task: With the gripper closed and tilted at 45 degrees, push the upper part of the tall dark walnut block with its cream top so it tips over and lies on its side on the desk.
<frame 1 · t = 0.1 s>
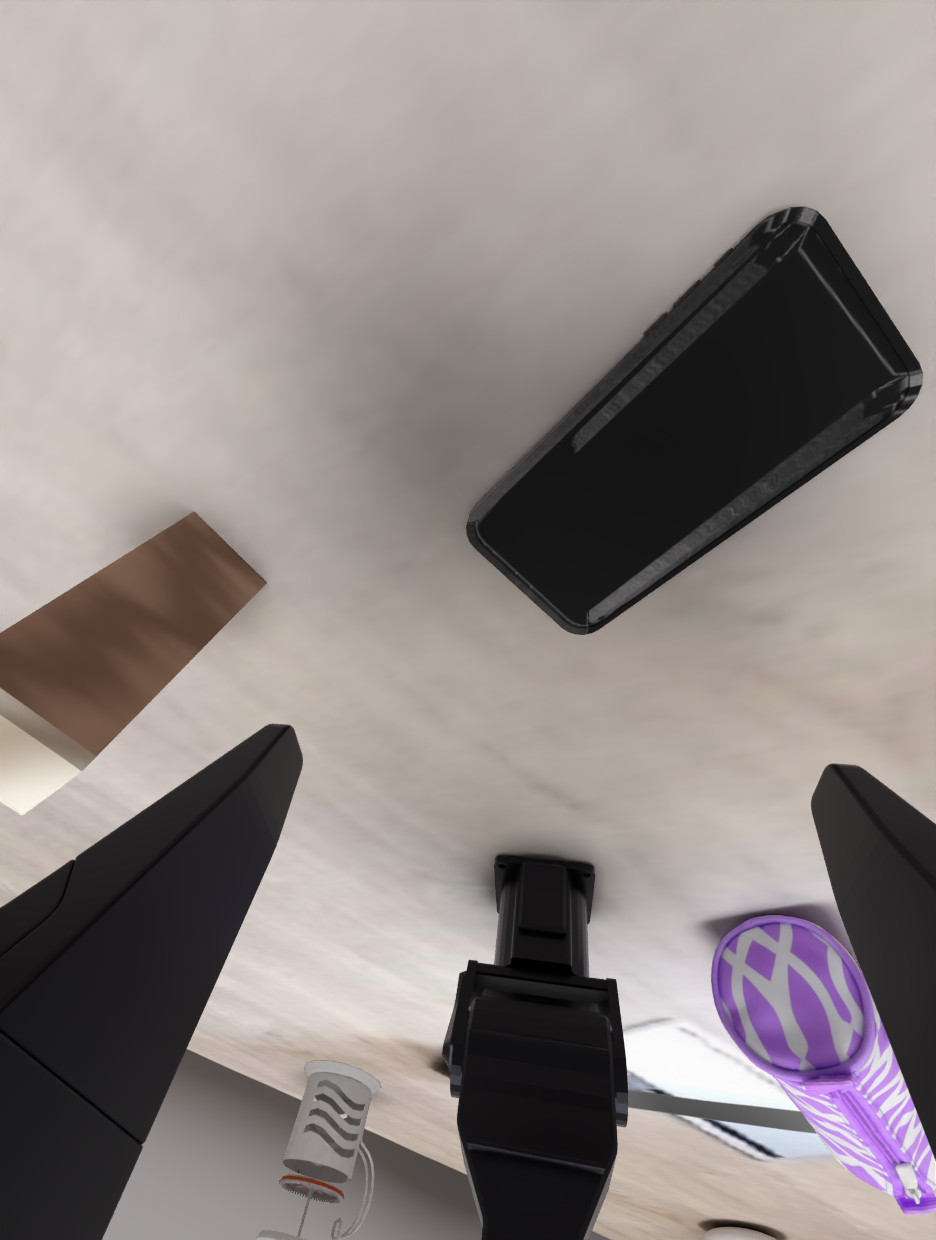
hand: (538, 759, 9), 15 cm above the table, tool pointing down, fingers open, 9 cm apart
pencil case: (805, 980, 38), on the table
phone: (657, 458, 21), on the table
flower in vase: (735, 1226, 74), on the table
french press: (349, 1077, 65), on the table
walnut block: (205, 571, 26), on the table
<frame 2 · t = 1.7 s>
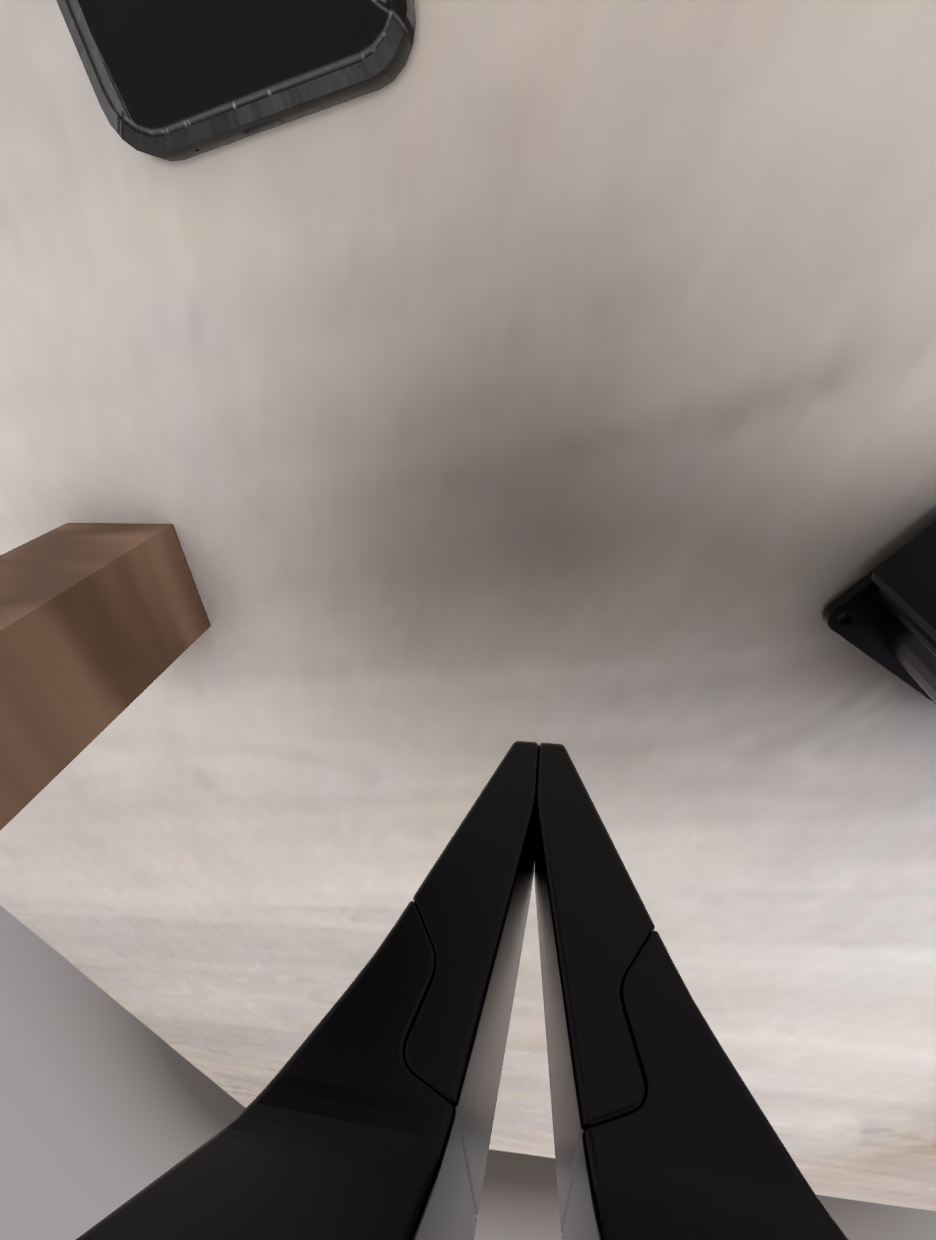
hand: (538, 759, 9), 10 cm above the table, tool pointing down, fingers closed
walnut block: (141, 576, 21), on the table
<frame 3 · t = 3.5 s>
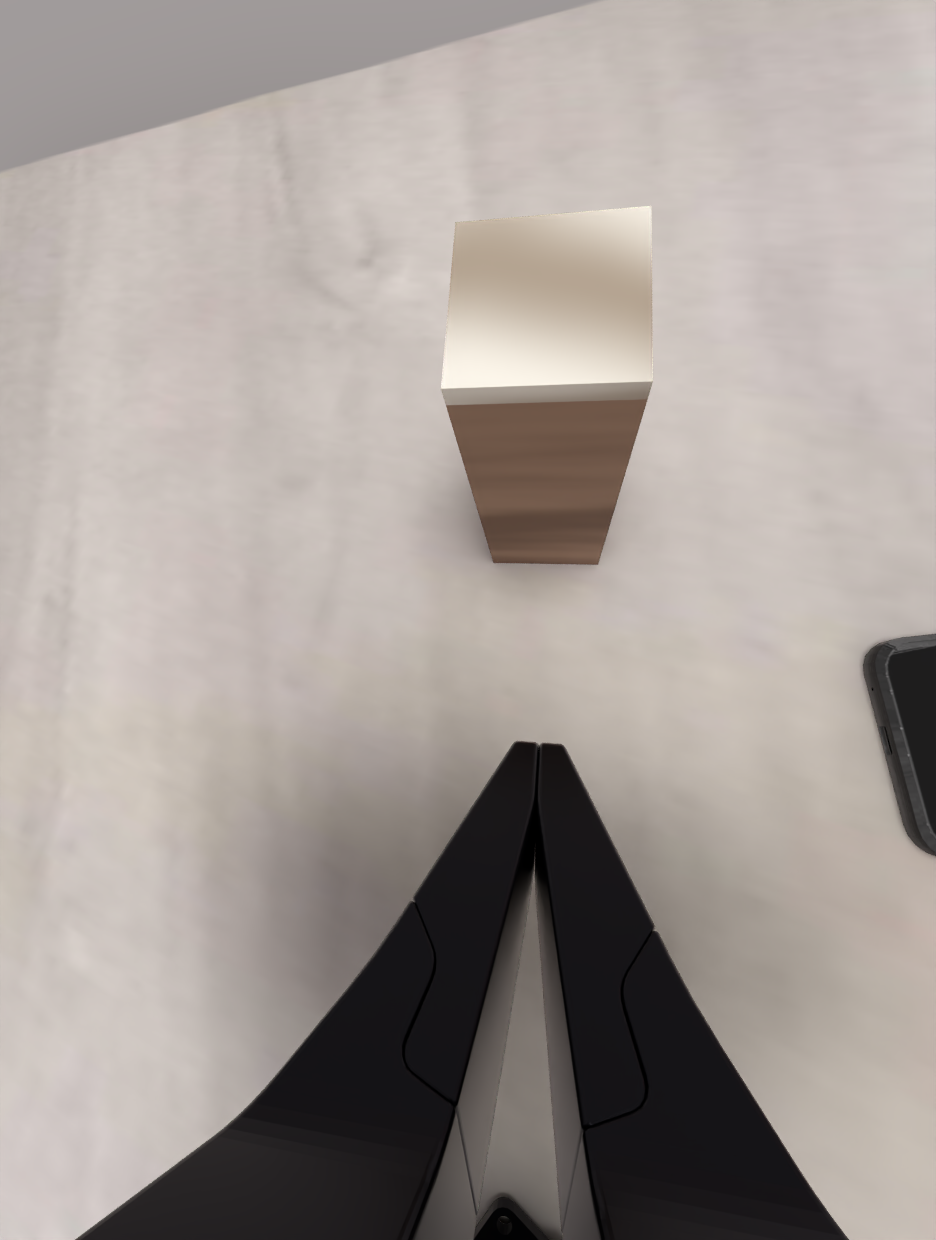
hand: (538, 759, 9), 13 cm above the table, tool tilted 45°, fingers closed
walnut block: (546, 515, 23), on the table
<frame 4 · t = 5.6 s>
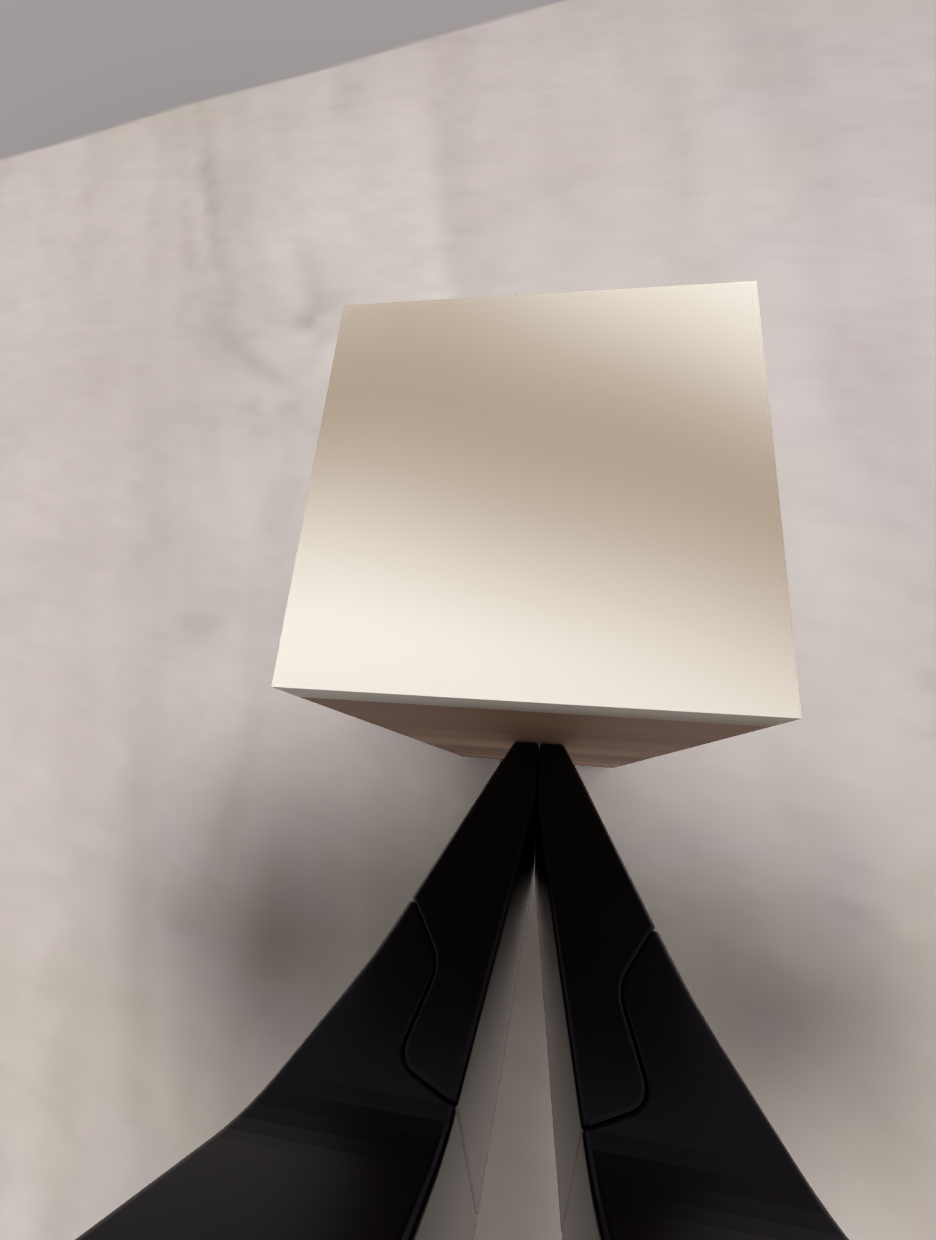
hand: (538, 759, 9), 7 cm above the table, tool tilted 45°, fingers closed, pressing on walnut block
walnut block: (539, 687, 16), on the table, touching gripper
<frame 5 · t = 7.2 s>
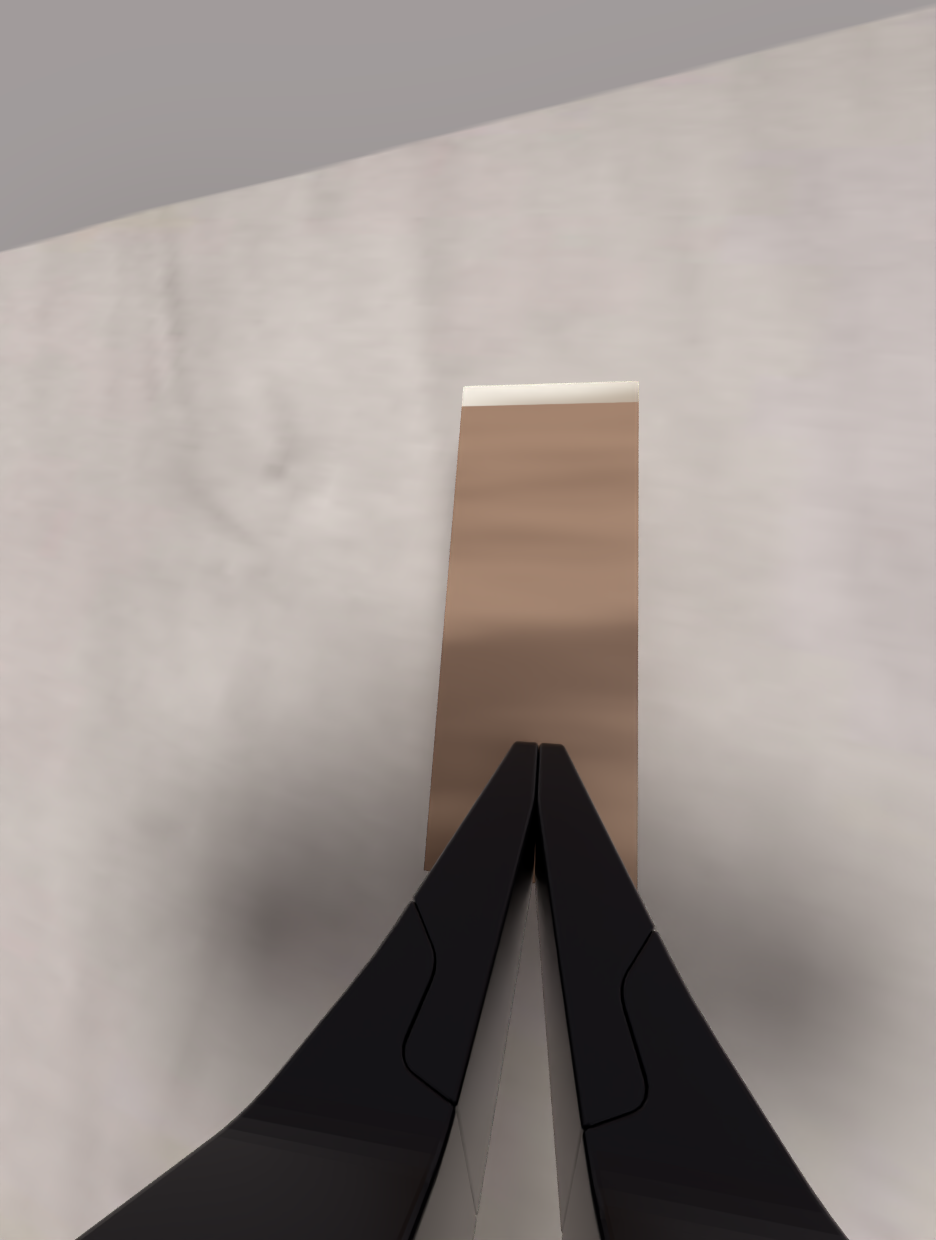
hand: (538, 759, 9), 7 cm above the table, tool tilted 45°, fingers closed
walnut block: (530, 858, 13), point 2 cm above the table, tilted 90°
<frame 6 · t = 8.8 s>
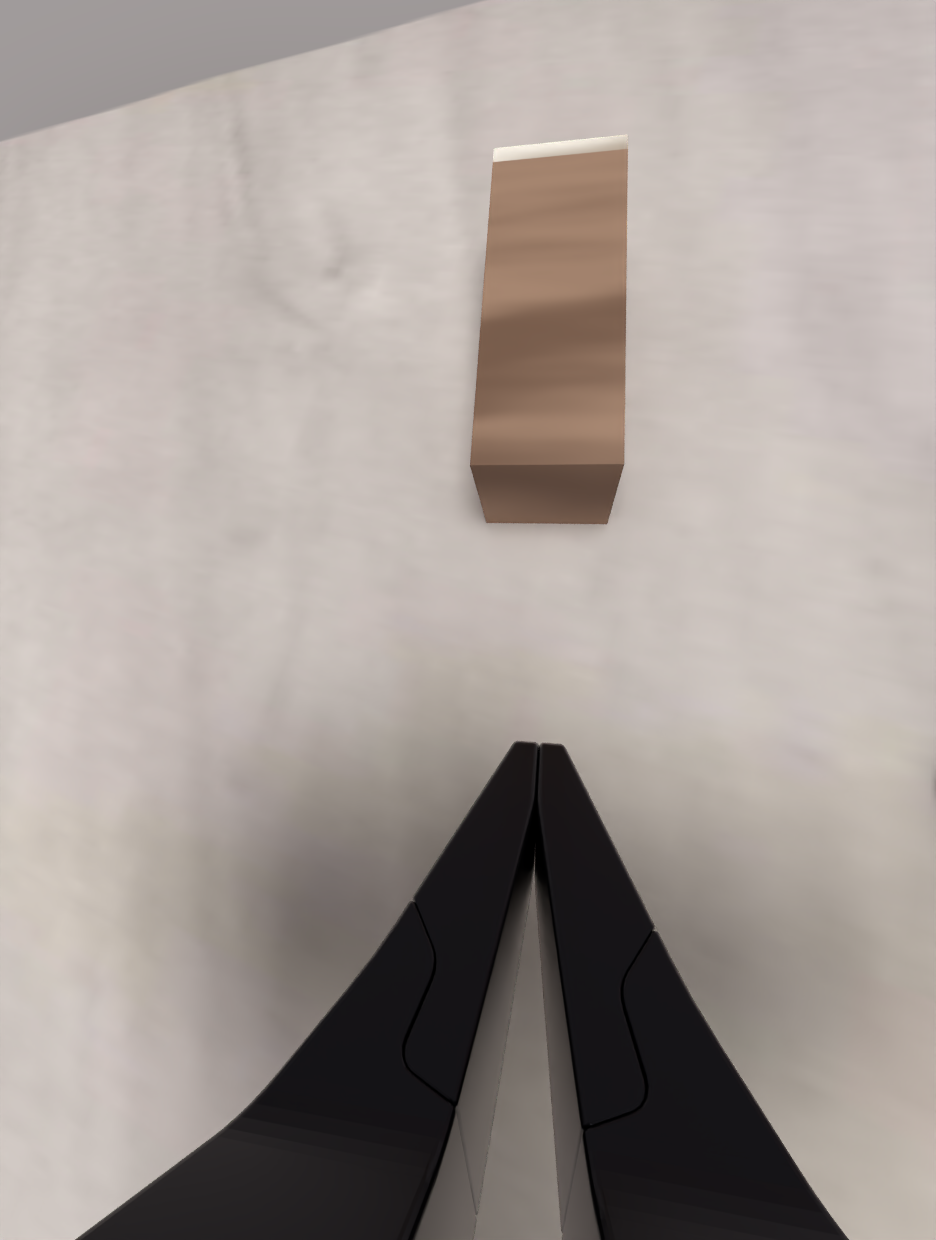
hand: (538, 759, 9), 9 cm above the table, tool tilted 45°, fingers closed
walnut block: (545, 497, 18), point 2 cm above the table, tilted 90°
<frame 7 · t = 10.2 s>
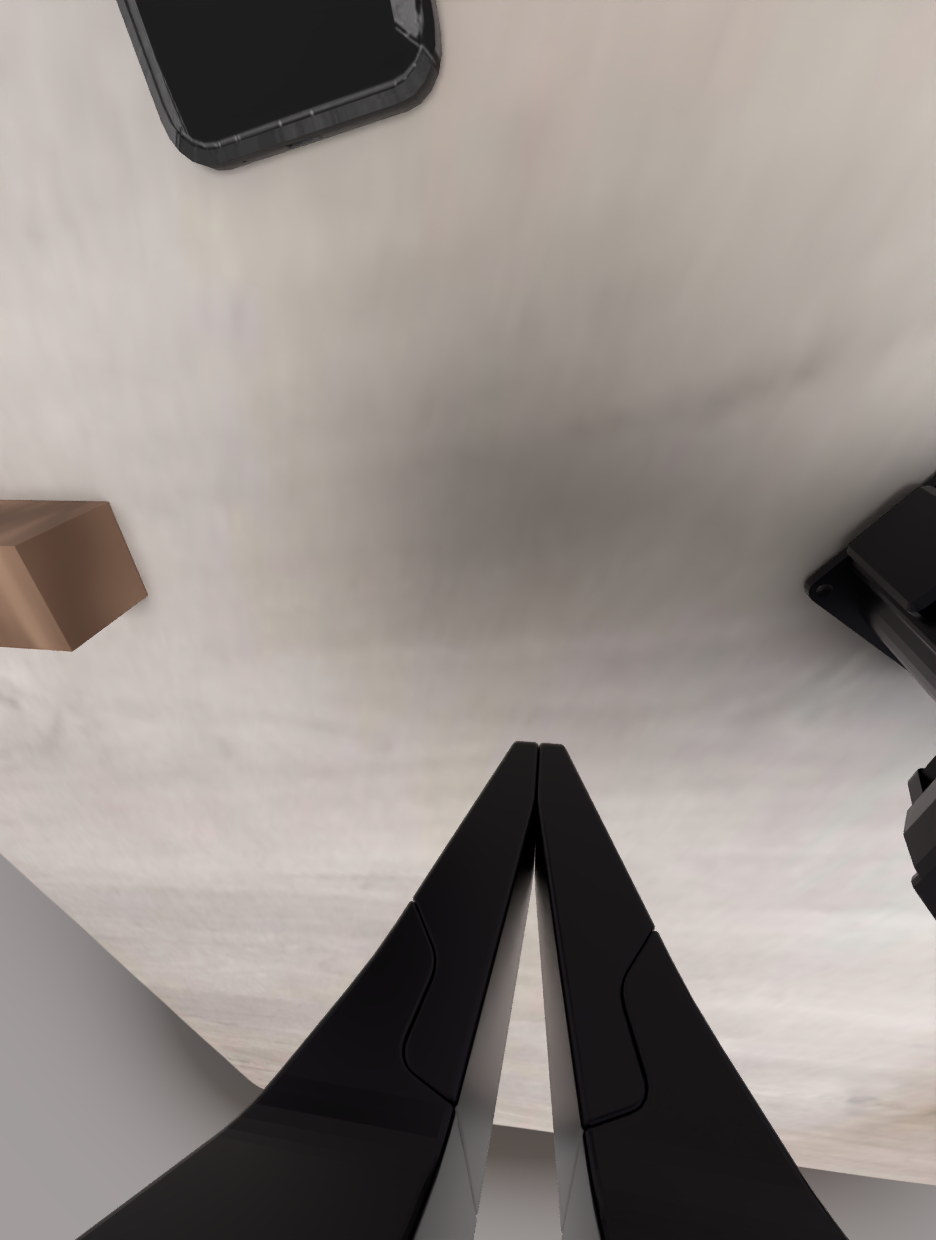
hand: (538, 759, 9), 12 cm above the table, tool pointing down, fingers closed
walnut block: (91, 574, 21), point 2 cm above the table, tilted 90°
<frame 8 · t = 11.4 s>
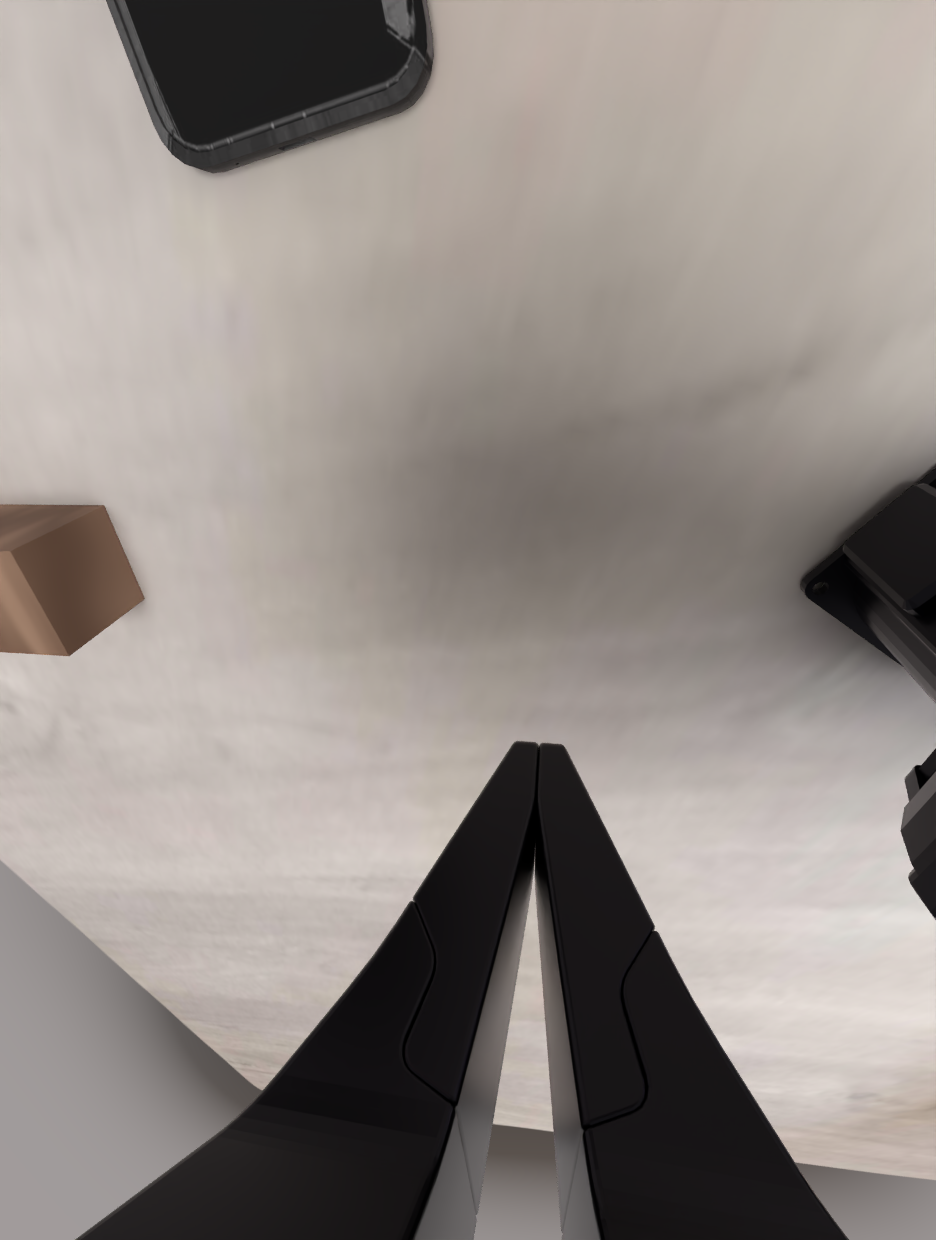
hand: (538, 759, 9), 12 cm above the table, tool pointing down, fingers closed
walnut block: (87, 578, 21), point 2 cm above the table, tilted 90°
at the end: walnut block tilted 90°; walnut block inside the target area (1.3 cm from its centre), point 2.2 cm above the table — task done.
